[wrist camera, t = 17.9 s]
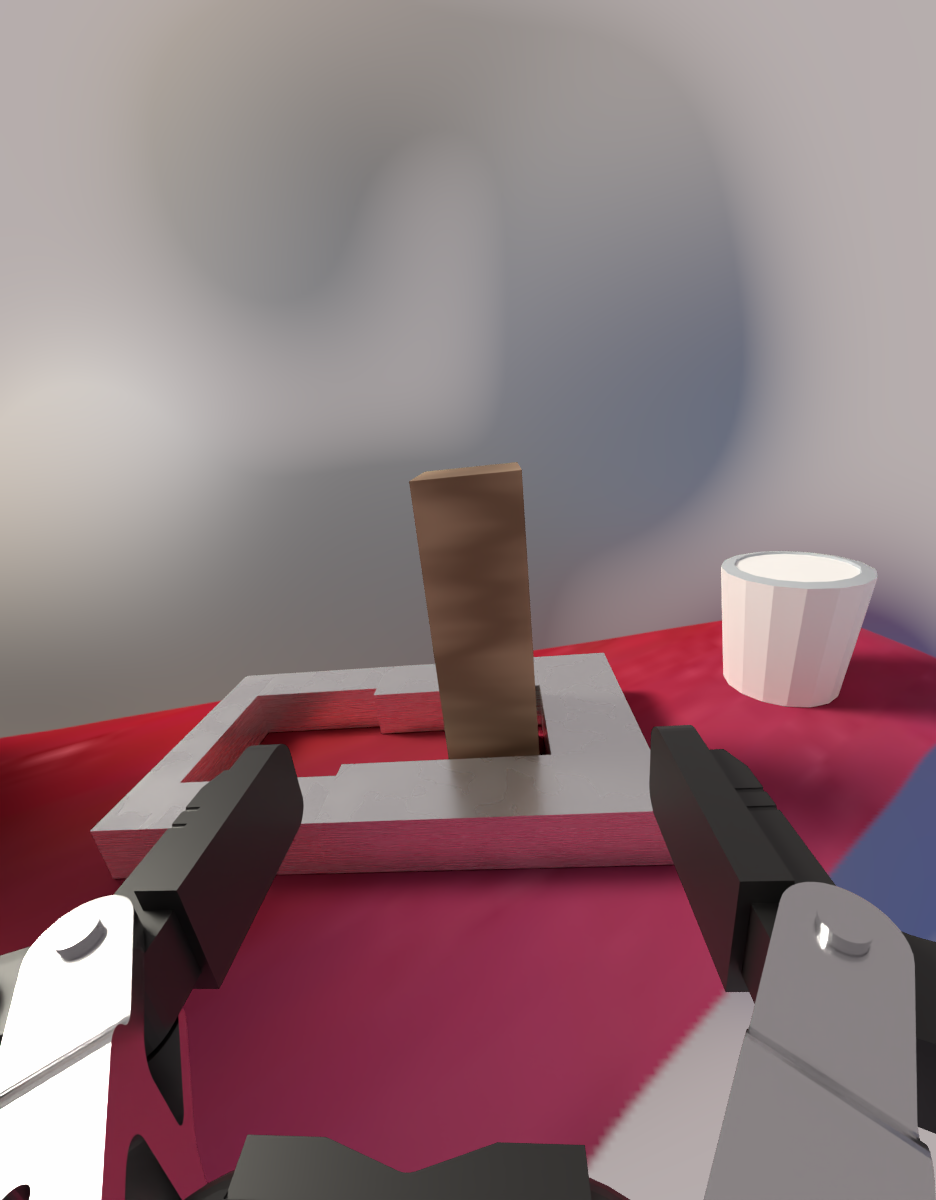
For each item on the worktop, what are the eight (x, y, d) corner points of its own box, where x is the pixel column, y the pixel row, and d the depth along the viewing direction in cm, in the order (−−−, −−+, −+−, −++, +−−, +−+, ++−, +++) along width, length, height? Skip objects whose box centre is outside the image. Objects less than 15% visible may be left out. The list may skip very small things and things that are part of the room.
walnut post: (453, 793, 21) (409, 481, 17) (460, 738, 25) (425, 471, 20) (541, 789, 21) (521, 469, 16) (534, 735, 25) (517, 462, 20)
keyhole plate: (113, 878, 19) (89, 831, 18) (256, 710, 30) (246, 676, 29) (675, 864, 17) (678, 810, 16) (603, 689, 28) (603, 652, 27)
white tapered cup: (692, 658, 31) (699, 555, 28) (801, 649, 30) (817, 544, 28) (749, 718, 24) (764, 592, 22) (887, 709, 24) (918, 578, 21)
